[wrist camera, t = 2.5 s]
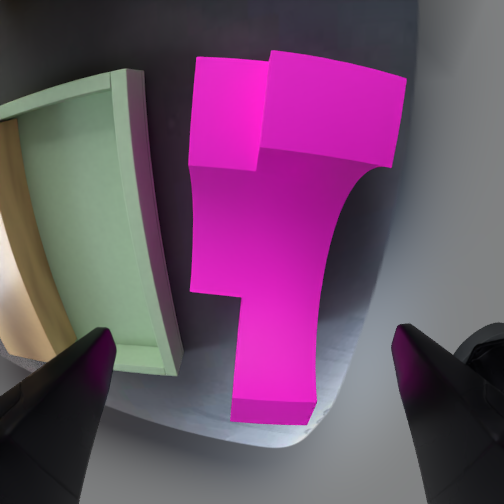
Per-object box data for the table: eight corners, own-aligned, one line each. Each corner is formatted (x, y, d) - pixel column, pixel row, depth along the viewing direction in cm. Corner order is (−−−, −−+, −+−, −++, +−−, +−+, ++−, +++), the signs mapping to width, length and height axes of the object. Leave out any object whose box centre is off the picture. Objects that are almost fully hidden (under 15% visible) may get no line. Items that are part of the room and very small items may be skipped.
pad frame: (144, 70, 14) (126, 68, 12) (184, 351, 22) (178, 376, 20) (-39, 127, 14) (-61, 135, 12) (24, 335, 23) (12, 352, 20)
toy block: (214, 67, 14) (175, 45, 7) (342, 83, 14) (406, 78, 7) (199, 319, 21) (178, 414, 14) (295, 328, 21) (307, 425, 14)
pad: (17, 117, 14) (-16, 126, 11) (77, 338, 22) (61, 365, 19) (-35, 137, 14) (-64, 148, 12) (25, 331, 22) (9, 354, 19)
